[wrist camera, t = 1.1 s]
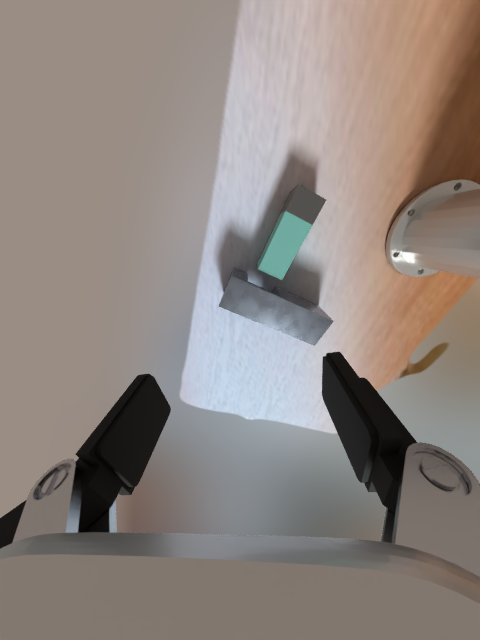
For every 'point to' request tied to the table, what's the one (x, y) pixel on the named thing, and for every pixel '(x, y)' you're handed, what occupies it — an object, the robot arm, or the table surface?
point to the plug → (290, 231)
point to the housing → (275, 309)
